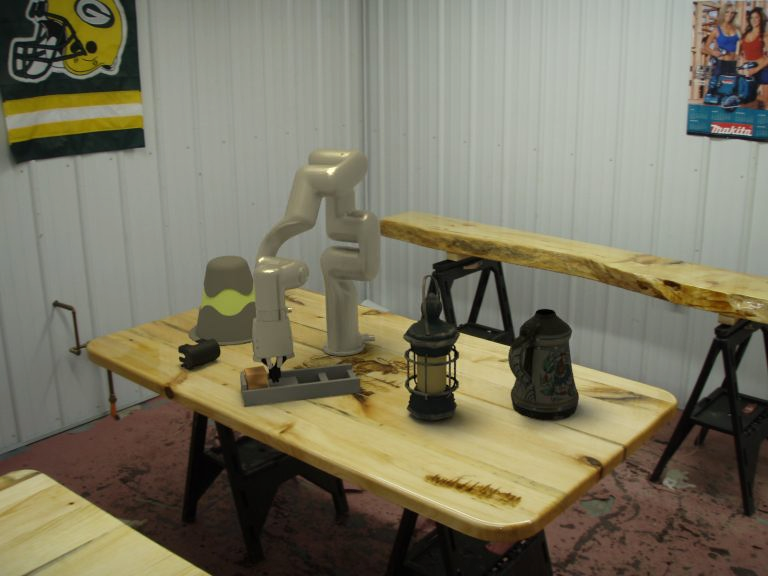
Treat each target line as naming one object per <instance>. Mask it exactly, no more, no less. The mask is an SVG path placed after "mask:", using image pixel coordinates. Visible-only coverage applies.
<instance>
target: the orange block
mask: <svg viewBox="0 0 768 576" xmlns="http://www.w3.org/2000/svg"><path fill="white" fill-rule="evenodd" d="M264 366H265V365H258V366H252V367H246V368H243V370H244V375H245V379H246V384H247V390H253V389H261V388H268V380H267V373H268V371H267V370H266V368H265V367H264Z"/></svg>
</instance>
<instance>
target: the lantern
mask: <svg viewBox="0 0 768 576" xmlns="http://www.w3.org/2000/svg"><path fill="white" fill-rule="evenodd" d="M428 278H431V279H432V280H433V282H434V284H435V289H436V294H435V293H433V292H430V293H428V294H427V296H426V282H427V279H428ZM439 285H440V284H439V283H438V280H437V279H436V278H435V276H434V275H430V274H428V275H424V276H423V278H422V285H421V286H422V287H421V288H422V289H421V293H422V294H421V297H422V298H421V299H422V300H421V301H422V302H421V304H420V312H421V315H422V316H423V318H422V319H419V320H418V321H417V322H414V323H412V324H411V325H410V326H409V328H407V330H406V331H405V333H404V334H403V336H402V339H403V340H404V341H406V342H407V343H409V347H410V348H408V349H407V350H405V351H404V355H403V356H404V358H405V360H406V372H407V373H406V375H407V379H405V381H404V387H405V389H406V390H407V391H408V393H410V395H409V400H408V405H407V407H406V410H407V411H408V412H409V413H410V414H412V415H413V416H414V417H416V418H417V419H420V420H421V419H422V420H428V421H429V420H430V421H438V420H442V419H446V418H449V417H452V416H453V415H454V413H455V411H456V409H457V407H458V404H457V402H456V398H455V394H454V392H456V391H457V390H458V389H459V388H460V387H459V385H460V384H459V383H460V382H459V380H458V379H457V360H458V359H460V352H459V350H457V347H456V345H455V344H456V343H457V341H458V340H459V338H460V336H461V332H459V331H458V328H457V327H456V326H453V325H452V324H450V323H449V322H446V321H445V320H443V319H441V318H440V317H441V314H442V312H443V303H442V300H441V290H440V286H439ZM410 352H412V353H413V355H412V357H413V359H412V358H410ZM451 352H453V358H452V356H451ZM447 356H448V357H447ZM447 358H448V360H447ZM410 363H412V364H413V375H411V376H410ZM452 363H453V376H452V375H451V374H452ZM447 365H448V368H447ZM447 371H448V374H447ZM447 378H448V384H447ZM412 380H413V382H414V384H415V386H414V387H413V388H411V387H410V386H411V385H410V382H411V381H412ZM452 381H453V384H452Z"/></svg>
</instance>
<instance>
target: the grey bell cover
mask: <svg viewBox="0 0 768 576" xmlns="http://www.w3.org/2000/svg"><path fill="white" fill-rule="evenodd" d="M201 297H202V298H201V304H200V307H199V309H198V316H197V322H196V325H195V326H193V327H192V328H191V329H190V330H189V332H188V338H189V339H190V340H191V341H192V342H195V341H196V340H199V339H202V338H203V339H206V340H210V339H215V340H216V341H217V342H218V344H219V346H236V345H243V344H249V343H252V327H253V319H254V318H256V306H255V291H254V277H253V274H252V272H251V269H250V266H249V263H248V261H247V260H246V259H245V258H243V257H242V256H238V255H221V256H217V257H214V258H212V259H211V260H209V261H208V262H207V264H206V268H205V274H204V281H203V292H202V296H201Z"/></svg>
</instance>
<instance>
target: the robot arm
mask: <svg viewBox="0 0 768 576" xmlns="http://www.w3.org/2000/svg"><path fill="white" fill-rule="evenodd" d="M367 157H368V156H366V154H365V153H364V152H363V151H361V150H357V149H346V148H345V149H343V148H341V149H340V148H316V149H314V150H312V151H310V153H309V154H308V157H307V159H308V160H307V162H308V163H307V164H305V165H301V166H300V167H299V168H298V169H296V172H295V174H294V177H293V181H292V184H291V189H290V193H289V196H288V201H287V204H286V207H285V211H284V215H283V216H282V218H281V219H280V220H279V221H278V222H277V223H275V225H273V226H272V228H270V230H269V231H268V232H267V233H266V235H265V236H264V237H263V238H262V240H261V242H260V244H259V247H258V249H257V250H258V251H257V255H256V257H255V263H254V269H253V274H252V277H253V283H254V291H255V306H256V318H254V319H253V327H252V342H251V344H252V351H253V356H252V361H253V363H262V364H263V366H265V367H267V369H268V372H269V379H272V382H273V383H275V382H279V378H281V371H282V369H281V368H282V366H283V365H284V363H286V361H288V360H291V359H293V358H295V357H296V356H295V352H294V340H293V339H294V338H293V331H292V325H291V321H290V317H289V315H288V314H289V313H292V312H293V311H292V307H288V306H287V305H286V291H291V290H296V289H298V288H299V289H300V288H301V287H303V286H304V285H305V284H306V283H307V282H308V280H309V277H310V269H309V267H308V264H307V263H306V262H304V261H302V260H299V259H297V258H296V259H294V258H287V257H281V256H277V254H278V251H279V249H280V248H281V247H282V245H283V244H285V243H286V242H287V241H288V240H290V239H292V238H293V237H296V236H298V235H301V234H303V233H305V232H308V231H310V230H312V229H313V228H314V227H315V226H316V223H317V219H318V216H319V211H320V208H321V205H322V201H323V198H324V200H325V201H324V202H325V203H324V204H325V205H324V206H325V216H324V217H325V233H326V236H327V238H328V239H330V240H332V241H335V242H342V243H352V244H358V247H357V246H349V245H346V246H345V245H331V246H327V247H326V248H325V249H324V250H322V253H321V255H320V257H319V263H320V269H321V270H320V271H321V274H322V277H323V284H324V293H325V294H324V298H325V299H324V301H325V320H326V321H325V322H326V341H325V342H323V344H322V348H321V349H322V351H323V352H324V353H325V354H327V355H330V356H334V357H335V356H336V357H337V356H338V357H345V356H353V355H357V354H359V353H361V352H363V351H364V350H365V343H366V342H369V343H370V342H371V343H372V342H375V340H376V338H375V335H374V334H369V333H363V334H361V333H360V332H359V329H360V327H359V301H358V299H359V298H358V296H359V295H358V290H357V289H358V288H357V287H356V284H355V283H354V281H356V282H372V281H375V280H376V278H377V276H378V275H379V272H380V266H381V224H380V220H379V218H378V216H377V214H376V213H375V212H373V211H371V210H364V209H357V208H356V193H355V187H356V186H357V185H358V184H360V183H361V182H362V181H363V179H364V178H365V176H366V175H367V173H368V168H369V160H368V158H367ZM272 358H275V362H274V363H273V362H272Z"/></svg>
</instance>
